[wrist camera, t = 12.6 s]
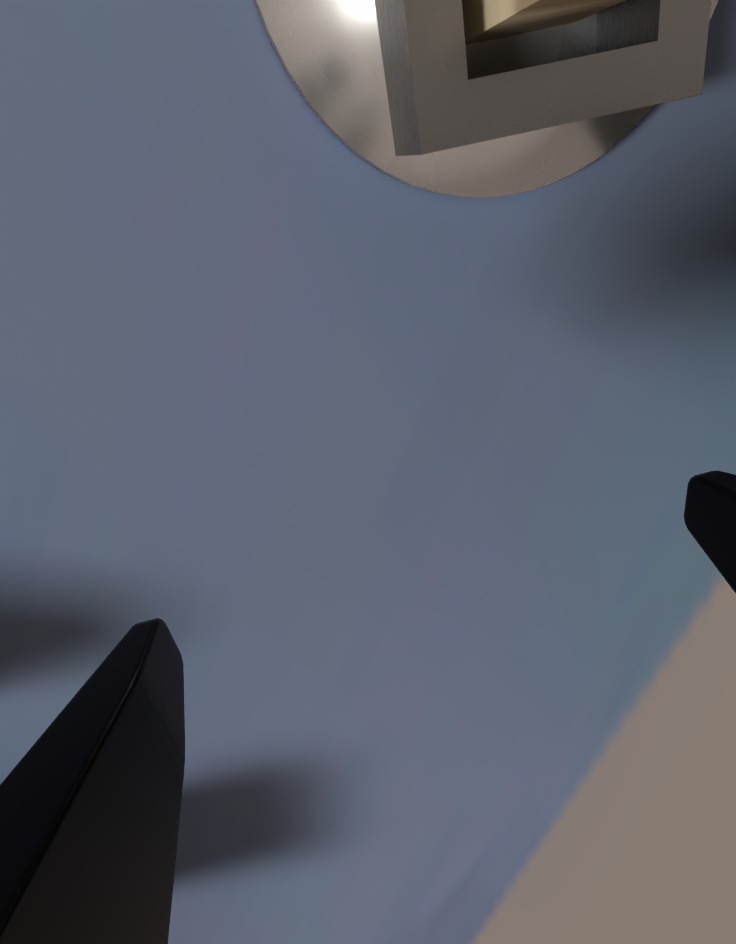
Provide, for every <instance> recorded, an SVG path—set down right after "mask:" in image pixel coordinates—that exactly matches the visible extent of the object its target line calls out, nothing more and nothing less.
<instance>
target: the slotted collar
mask: <svg viewBox="0 0 736 944" xmlns="http://www.w3.org/2000/svg"><path fill="white" fill-rule="evenodd" d="M718 1H719V0H625V1H623V2H620V3H618V4H616V5H614V6H611V7H609V8H607V9H604V10H602V11H600V12H598V13H595V14H593V15H591V16H588V17H586V18H584V19H582V20H579V21H577V22H575V23H573V24H568V25H563V26H558V27H553V28H548V29H543V30H538V31H533V32H528V33H523V34H518V35H513V36H508V37H503V38H498V39H493V40H488V41H483V42H478V43H473V44H468V45H465V34H464V21H463V8H462V0H254V3H255V5H256V8H257V10H258V13H259V16H260V18H261V21H262V23H263V26H264V29H265V31H266V34H267V36H268V39H269V41H270V43H271V45H272V46H273V48H274V50H275V52H276V54H277V56H278V58H279V60H280V62H281V64H282V66H283V68H284V70H285V72H286V74H287V75H288V77H289V78H290V80H291V81H292V83H293V84H294V86H295V87H296V89H297V90H298V92H299V93H300V95H301V96H302V98H303V99H304V101H305V102H306V104H307V105H308V106H309V108H310V109H311V110H312V111H313V112H314V113H315V115H316V116H317V117H318V118H319V119H320V120H321V122H322V123H323V124H324V125H325V126H326V128H327V129H328V130H329V131H330V132H331V133H332V134H333V135H334V136H335V137H337V138H338V139H339V140H340V141H341V142H342V143H343V144H344V145H345V146H346V147H347V148H349V149H350V150H351V151H352V152H353V153H354V154H356V155H357V156H359V157H360V158H361V159H363V160H364V161H366V162H367V163H369V164H370V165H372V166H373V167H374V168H376V169H377V170H379V171H381V172H383V173H385V174H387V175H389V176H391V177H393V178H395V179H397V180H399V181H401V182H403V183H405V184H408V185H411V186H415V187H418V188H421V189H424V190H427V191H430V192H435V193H442V194H448V195H454V196H460V197H499V196H506V195H513V194H520V193H523V192H527V191H530V190H533V189H537V188H540V187H543V186H547V185H549V184H551V183H554V182H556V181H558V180H560V179H562V178H565V177H567V176H569V175H571V174H573V173H575V172H577V171H578V170H580V169H582V168H583V167H585V166H586V165H588V164H590V163H591V162H593V161H594V160H596V159H598V158H599V157H601V156H602V155H603V154H604V153H606V152H607V151H608V150H609V149H611V148H612V147H613V146H614V145H616V144H617V143H618V142H619V141H621V140H622V139H623V138H624V137H625V136H626V135H627V134H628V133H629V132H630V131H631V130H632V129H633V128H634V127H635V126H636V125H637V124H638V123H639V122H640V121H641V120H642V119H643V118H644V117H645V116H646V115H647V114H648V113H649V112H650V111H651V110H652V108H653V107H654V106H655V105H656V104H661V103H665V102H670V101H675V100H679V99H684V98H688V97H693V96H698V95H702V90H703V80H704V70H705V60H706V50H707V40H708V30H709V21H710V19H711V17H712V15H713V12H714V10H715V8H716V5H717V3H718Z"/></svg>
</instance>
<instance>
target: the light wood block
mask: <svg viewBox="0 0 736 944" xmlns="http://www.w3.org/2000/svg"><path fill="white" fill-rule="evenodd" d="M623 1H625V0H462V8H463V21H464V34H465V45H468V44H473V43H478V42H483V41H488V40H493V39H498V38H503V37H508V36H513V35H518V34H523V33H528V32H533V31H538V30H543V29H548V28H553V27H558V26H563V25H568V24H573V23H575V22H577V21H579V20H582V19H584V18H586V17H588V16H591V15H593V14H595V13H598V12H600V11H602V10H604V9H607V8H609V7H611V6H614V5H616V4H618V3H620V2H623Z"/></svg>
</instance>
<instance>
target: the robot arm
mask: <svg viewBox="0 0 736 944" xmlns="http://www.w3.org/2000/svg"><path fill="white" fill-rule="evenodd" d="M684 520H685V524H686V526H687V528H688V530H689V531H690V533H691V534H692V536H693V537H694V538H695V540H696V541H697V542H698V544H699V545H700V546H701V548H702V549H703V550H704V552H705V553H706V554H707V556H708V557H709V558H710V560H711V561H712V562H713V564H714V565H715V566H716V568H717V569H718V570H719V572H720V573H721V574H722V576H723V577H724V578H725V580H726V581H727V582H728V584H729V585H730V586H731V588H732V589H733V590H734V592H735V593H736V475H734V474H729V473H725V472H721V471H710V472H707V473H703V474H699V475H695V476H694V477H692V478H691V479H690V481H689V482H688V488H687V496H686V503H685V511H684ZM184 763H185V722H184V674H183V661H182V657H181V654H180V651H179V649H178V647H177V645H176V643H175V641H174V639H173V637H172V635H171V633H170V631H169V629H168V627H167V625H166V624H165V622H164V621H163V620H162V619H159V618H156V619H152V620H148V621H145V622H141V623H138V624H135V625H134V626H133V627H132V628H131V629H130V630H129V631H128V632H127V634H126V635H125V636H124V637H123V638H122V640H121V641H120V642H119V643H118V644H117V646H116V647H115V648H114V649H113V650H112V652H111V653H110V654H109V655H108V656H107V658H106V659H105V660H104V661H103V662H102V664H101V665H100V666H99V667H98V668H97V670H96V671H95V672H94V673H93V674H92V676H91V677H90V678H89V679H88V680H87V682H86V683H85V684H84V685H83V686H82V688H81V689H80V690H79V691H78V692H77V694H76V695H75V696H74V697H73V698H72V700H71V701H70V702H69V703H68V704H67V706H66V707H65V708H64V709H63V710H62V712H61V713H60V714H59V715H58V716H57V718H56V719H55V720H54V721H53V722H52V723H51V725H50V726H49V727H48V728H47V729H46V731H45V732H44V733H43V734H42V735H41V737H40V738H39V739H38V740H37V741H36V743H35V744H34V745H33V746H32V747H31V749H30V750H29V751H28V752H27V753H26V755H25V756H24V757H23V758H22V759H21V761H20V762H19V763H18V764H17V765H16V767H15V768H14V769H13V770H12V771H11V773H10V774H9V775H8V776H7V777H6V779H5V780H4V781H3V782H2V783H1V785H0V944H168V935H169V924H170V914H171V903H172V893H173V882H174V872H175V861H176V851H177V840H178V830H179V819H180V809H181V798H182V788H183V777H184Z"/></svg>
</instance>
